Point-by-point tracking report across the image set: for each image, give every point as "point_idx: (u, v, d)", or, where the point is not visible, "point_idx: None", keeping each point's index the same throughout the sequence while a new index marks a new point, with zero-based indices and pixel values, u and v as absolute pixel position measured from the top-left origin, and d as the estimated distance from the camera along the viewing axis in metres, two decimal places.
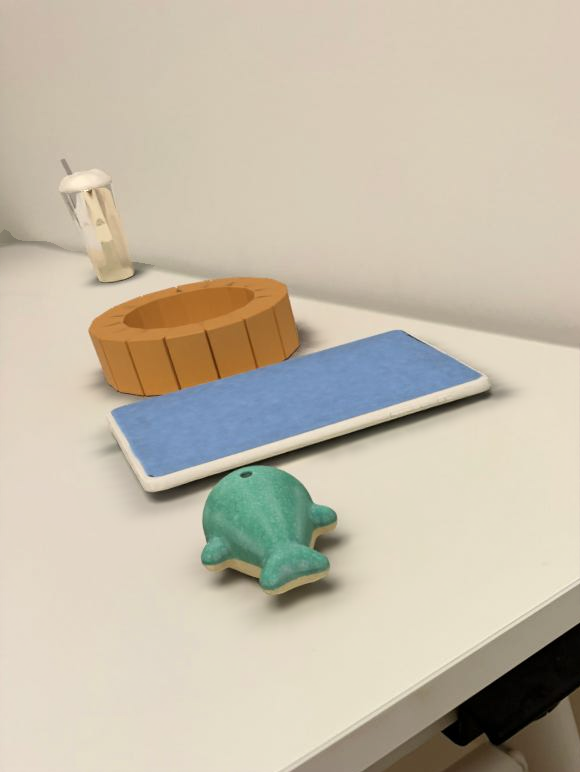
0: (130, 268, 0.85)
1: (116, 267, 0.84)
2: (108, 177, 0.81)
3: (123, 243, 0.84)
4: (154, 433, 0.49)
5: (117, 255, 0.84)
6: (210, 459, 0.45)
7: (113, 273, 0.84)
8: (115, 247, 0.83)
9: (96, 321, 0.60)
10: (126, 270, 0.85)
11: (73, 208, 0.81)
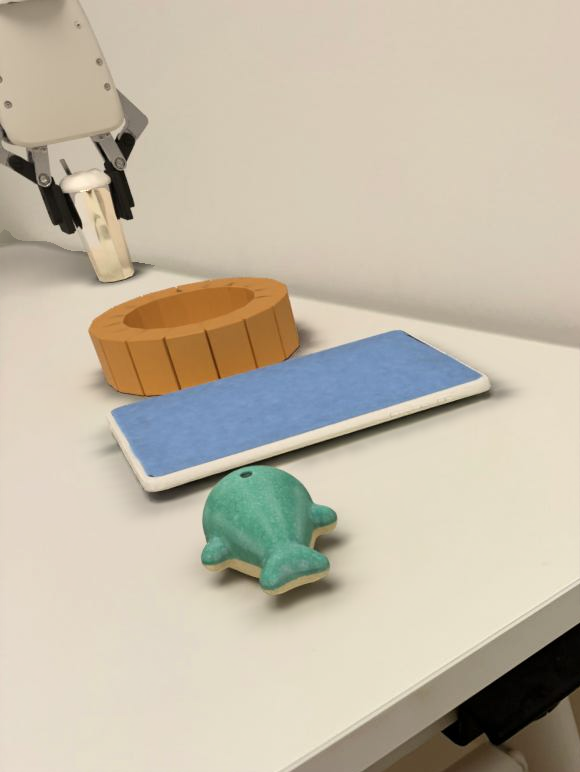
0: (130, 268, 0.85)
1: (116, 267, 0.84)
2: (107, 177, 0.81)
3: (123, 243, 0.84)
4: (154, 433, 0.49)
5: (117, 255, 0.84)
6: (210, 459, 0.45)
7: (113, 273, 0.84)
8: (114, 247, 0.83)
9: (96, 321, 0.60)
10: (126, 270, 0.85)
11: (73, 208, 0.81)
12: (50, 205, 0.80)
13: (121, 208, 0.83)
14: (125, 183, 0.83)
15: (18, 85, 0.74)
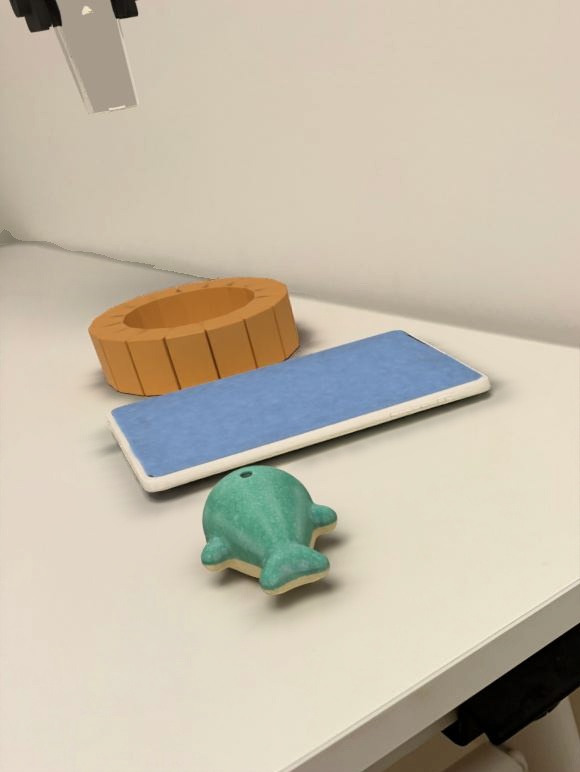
0: (133, 93, 0.57)
1: (112, 89, 0.56)
2: None
3: (123, 52, 0.56)
4: (154, 433, 0.49)
5: (114, 69, 0.56)
6: (210, 459, 0.45)
7: (108, 98, 0.56)
8: (110, 55, 0.55)
9: (96, 321, 0.60)
10: (127, 95, 0.57)
11: None
12: None
13: None
14: None
15: None
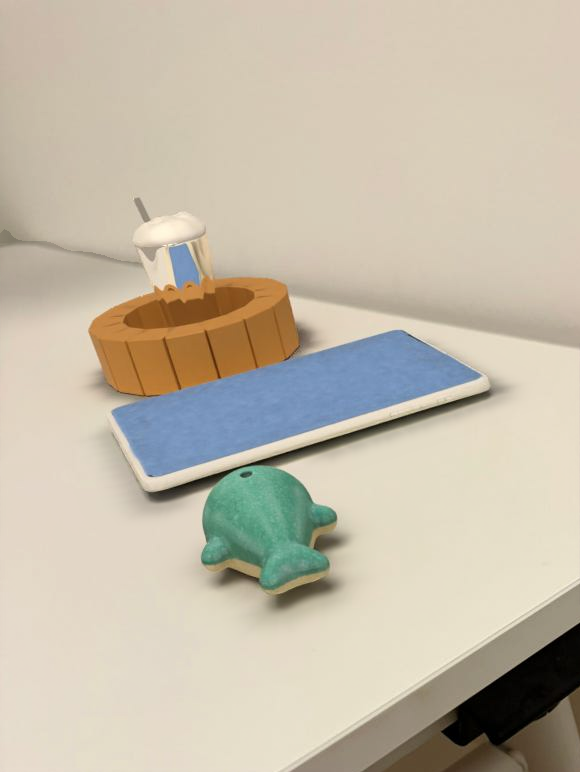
0: None
1: None
2: (202, 224, 0.57)
3: (219, 314, 0.60)
4: (154, 432, 0.49)
5: None
6: (209, 459, 0.45)
7: None
8: None
9: (96, 321, 0.60)
10: None
11: (153, 268, 0.57)
12: None
13: None
14: None
15: None
